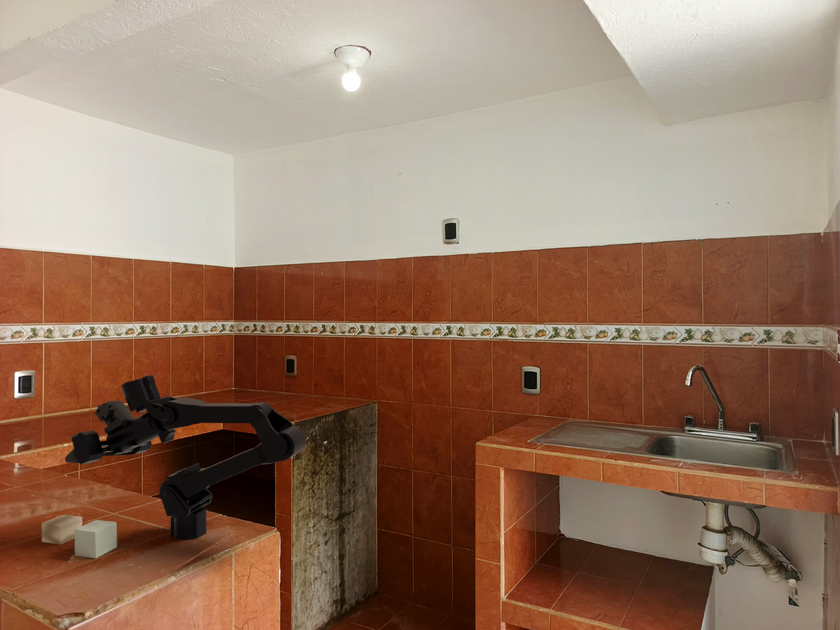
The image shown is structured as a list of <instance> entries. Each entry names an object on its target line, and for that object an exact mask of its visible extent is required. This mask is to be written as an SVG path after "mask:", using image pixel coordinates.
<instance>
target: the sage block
mask: <svg viewBox="0 0 840 630" xmlns="http://www.w3.org/2000/svg"><path fill="white" fill-rule="evenodd" d="M117 530H118V529H117V521H109V520H101V519H95V520H93V521H90V522H88V523H86V524H84V525H83V524H82V526H81V527H79V528H77V529H75V539H74V555H76V556H83V557H89V558H90V559H91V558H92V559H98V558H99V557H101V556H103V555H105V554H107V553H109V552H111V551H113V550H115V549H116V548H118V535H117V533H118V532H117Z"/></svg>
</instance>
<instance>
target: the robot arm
mask: <svg viewBox="0 0 840 630" xmlns="http://www.w3.org/2000/svg"><path fill="white" fill-rule="evenodd" d="M156 384H157V383H156V380H155V376H154V375H153V374H150V375H145V376H143V377H140V378H137V379H134V380H130V381H126V382H124V383H123V384H121V385H120V388H121V390H122V393H123V396H124V398H125V401H126V403H127V406H126V405H125V403H124V402H123V401H122V400H108V401H106V402H103V403H102V404H99V405H98V406H97V408H96V409H95V413H94V414H95V416H96V417H97V418H98V419H99V421H100V422H104V423H105V425H106V427H104V428H103V429H104V433H105V435H106V440H100V436H99V433H98V432H97V431H95V430H87V431H79V432H77V433H75V434H73V435H72V437H71V443H72V445H73V446H72V447H73V449H72V450H70V452H69V453H68V454H67V455H65V457H64V460H65V463H67V464H68V463H69V464H71V463H72V464H80V465H81V466H82V465H86V464H91V463H94V462H98V461H99V460H102V459H103V457H110V456H111V457H112V456H117V457H118V456H131V455H137V454H141V453H145V452H147V451H149V450H151V448H152V444H153V443H152V440H154V439H157V438H159V440H160V443H161V444H166V443H168V442H171V441H174V439H175V434H176V431H177V430H176V429H178V428H180V429H181V428H185V427H188V426H193V425H198V424H250V426H251V427H253V429H254V432H255V433H256V435H257V438H258V440H259V441H260V443H258V444H257V445H256V446H254V448H253V447H252V448H250V449H248V450H245V451H243V452H241V453H238V454H236V455H234V456H232V457H230V458H227V459H225V460H223V461H220V462H217V463H215V464H213V465H211V466H209V467H204V468H203V467H202V468H201V466H200V465H201V464H200V463H199V462H197V463H195V464H192V465H190V466H188V467H184V468H183V469H181V470H178V471H175V472H174V473H172V474H169V475H167V476H165V478H166V480H165V481H162V482H161V484H160V487H159V498H160V500H161V501H162V505H163V508H164V511H165V514H166V517H170V519H169V520H170V533H169V534H170V536H171V537H174V538H175V539H176V540H180V541H187V540H193V539H194V540H197V539H200V538H201V537H203V536H205V535H206V534H207V508H205V507H206V506H208V505H210V504H211V501H212V499H213V494H212V492H211V491H210V490H209V489H208V488H209V487H210V486H212V485H216V484H217V483H220V482H222V481H225V480H227V479H230V478H232V477H234V476H236V475H237V476H238V475H239V474H241V473H244V472H246V471H248V470H251V469H253V468H255V467H258V466H261V465H271V464H276V463H281V462H285V461H287V460H289V459H290V458H292V457H294V456H295V455H298V454H299V453H300V452H301V453H302V451H303V450H304V449H305V448H306V445H307V437H306V436H307V435H306V433H305V432H304V430H302V429H301V428H300V427H298V426H296V425H295V424H293V423H292V422H291V420H290V419H288V418H287V417H286V416H284V415H283V414H281V413H279V412H278V411H276V410H275V409H274V408H273V407H272V406H271V404H269V403H268V402H265V401H264V402H258V403H255V402H254V403H245V402H244V403H243V402H242V403H236V402H235V403H233V402H231V403H227V402H226V403H218V402H217V403H215V402H213V403H211V402H206V401H204V400H202V399H196V398H192V397H182V398H177V397H173V396H170V395H168V396H164V397H163V396H162V397H161V395H160V391H159V389H158V387H157V385H156ZM133 412H136V414H140V413H144V412H146V413H144V414H142V415H139V416H137V417H133V415H132V413H133Z"/></svg>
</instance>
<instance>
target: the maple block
mask: <svg viewBox="0 0 840 630" xmlns="http://www.w3.org/2000/svg"><path fill="white" fill-rule="evenodd" d="M81 526H83V517H82V516H79V515H77V516H76V515H70V514H69V515H68V514H62V515H59V516H56V517H54V518H52V519H49V520H45V521H43V522H41V542H43V543H48V544H54V545H63V544H65V543H67V542H69V541H70V542H71V541H72V540H75V529H77V528H79V527H81Z"/></svg>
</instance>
